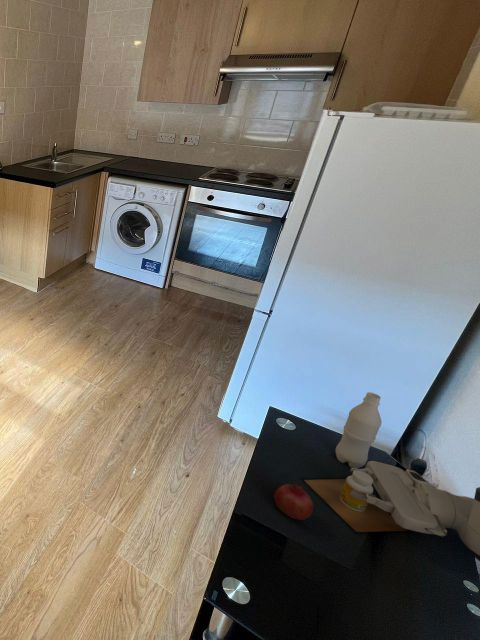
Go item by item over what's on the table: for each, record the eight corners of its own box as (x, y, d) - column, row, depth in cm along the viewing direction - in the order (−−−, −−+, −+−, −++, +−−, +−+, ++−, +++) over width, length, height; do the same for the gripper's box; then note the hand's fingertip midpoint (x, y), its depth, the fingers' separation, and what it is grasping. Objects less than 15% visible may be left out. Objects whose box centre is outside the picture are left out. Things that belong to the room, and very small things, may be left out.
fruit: (299, 533, 104) (310, 503, 101) (265, 508, 111) (274, 479, 108) (314, 519, 108) (324, 490, 105) (280, 496, 114) (289, 468, 112)
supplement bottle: (340, 491, 115) (350, 464, 112) (365, 503, 112) (377, 476, 109) (338, 503, 112) (349, 475, 109) (364, 516, 108) (376, 487, 105)
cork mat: (406, 532, 105) (407, 529, 105) (355, 534, 104) (356, 531, 104) (348, 481, 120) (349, 478, 120) (303, 482, 119) (304, 479, 119)
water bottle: (331, 450, 132) (355, 385, 124) (361, 460, 128) (387, 393, 120) (334, 464, 126) (359, 396, 119) (365, 475, 122) (393, 406, 115)
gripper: (447, 548, 96) (371, 524, 102) (403, 484, 114) (341, 466, 120) (457, 528, 94) (379, 505, 100) (411, 466, 112) (347, 449, 118)
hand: (358, 483), depth 110 cm, fingers open, 8 cm apart
